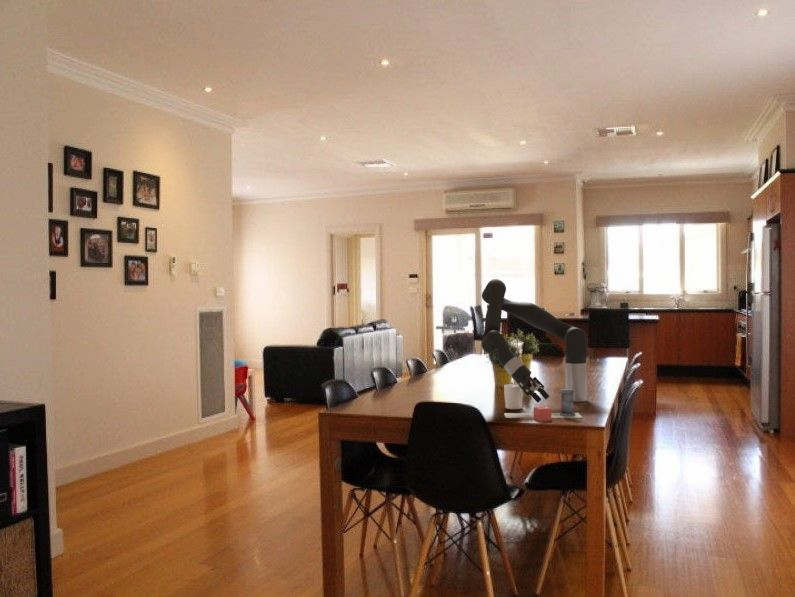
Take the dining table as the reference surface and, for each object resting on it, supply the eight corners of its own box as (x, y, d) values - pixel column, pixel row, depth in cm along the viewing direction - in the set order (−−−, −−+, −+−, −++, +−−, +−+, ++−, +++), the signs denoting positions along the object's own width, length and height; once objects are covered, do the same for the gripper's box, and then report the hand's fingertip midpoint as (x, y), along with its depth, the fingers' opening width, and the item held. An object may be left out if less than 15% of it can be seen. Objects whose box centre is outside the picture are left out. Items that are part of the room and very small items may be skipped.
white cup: (509, 410, 287) (508, 387, 287) (501, 407, 294) (500, 384, 294) (526, 409, 289) (525, 386, 289) (517, 406, 297) (517, 383, 297)
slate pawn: (558, 413, 275) (558, 389, 275) (573, 413, 275) (573, 389, 275) (561, 416, 269) (560, 391, 269) (576, 416, 269) (575, 391, 269)
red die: (533, 419, 266) (533, 405, 266) (545, 418, 267) (545, 405, 267) (539, 422, 261) (539, 407, 261) (551, 421, 262) (551, 407, 262)
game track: (503, 414, 279) (503, 413, 279) (578, 413, 277) (578, 412, 277) (505, 418, 269) (505, 417, 269) (582, 418, 267) (582, 417, 267)
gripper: (518, 374, 291) (544, 402, 285) (504, 378, 280) (530, 408, 273) (530, 362, 288) (556, 391, 282) (516, 366, 277) (542, 396, 270)
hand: (543, 399), depth 278 cm, fingers open, 8 cm apart
